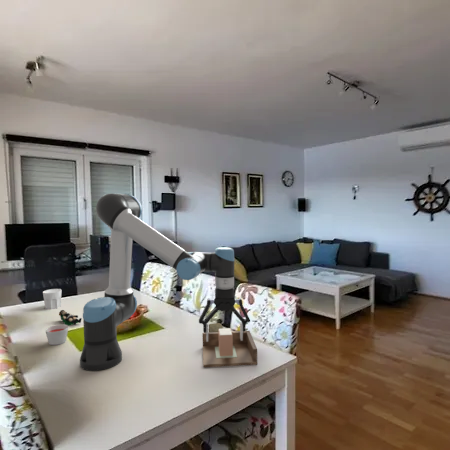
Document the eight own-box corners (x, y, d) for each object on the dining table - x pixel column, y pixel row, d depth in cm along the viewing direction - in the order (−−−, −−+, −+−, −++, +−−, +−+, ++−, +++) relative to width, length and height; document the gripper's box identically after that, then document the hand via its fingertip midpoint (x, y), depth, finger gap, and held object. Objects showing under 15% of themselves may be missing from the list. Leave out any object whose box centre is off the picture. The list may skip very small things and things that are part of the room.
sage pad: (216, 358, 125) (216, 357, 125) (214, 347, 135) (214, 346, 135) (237, 357, 125) (237, 356, 125) (234, 346, 135) (234, 345, 135)
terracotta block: (218, 348, 133) (218, 328, 133) (230, 347, 134) (230, 327, 133) (219, 356, 126) (219, 335, 126) (232, 355, 127) (232, 334, 126)
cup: (50, 304, 202) (50, 288, 202) (65, 305, 201) (65, 289, 200) (39, 309, 192) (38, 292, 192) (55, 310, 191) (54, 293, 190)
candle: (42, 342, 145) (42, 328, 144) (64, 336, 151) (63, 323, 151) (50, 348, 138) (49, 333, 138) (72, 341, 145) (71, 327, 145)
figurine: (71, 321, 162) (53, 310, 169) (70, 332, 163) (53, 321, 170) (85, 316, 168) (67, 307, 176) (84, 327, 169) (67, 316, 177)
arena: (203, 367, 120) (203, 351, 120) (202, 346, 138) (202, 332, 138) (257, 364, 122) (257, 348, 121) (249, 344, 139) (249, 330, 139)
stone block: (214, 343, 142) (213, 331, 142) (208, 333, 153) (207, 323, 153) (226, 341, 144) (226, 330, 143) (220, 332, 155) (219, 321, 154)
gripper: (192, 289, 124) (192, 344, 125) (257, 288, 126) (257, 342, 127) (192, 285, 131) (192, 336, 133) (254, 284, 133) (253, 335, 135)
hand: (224, 339), depth 130 cm, fingers open, 13 cm apart
